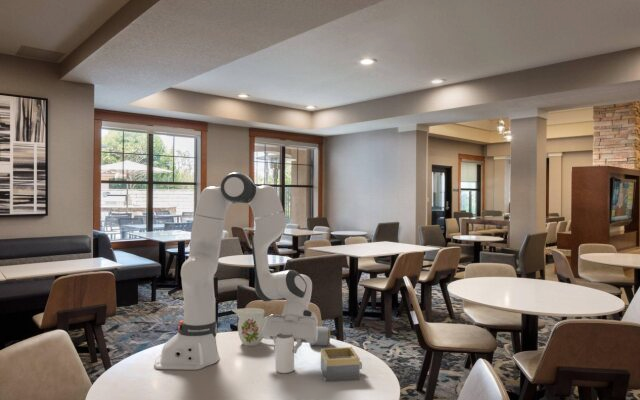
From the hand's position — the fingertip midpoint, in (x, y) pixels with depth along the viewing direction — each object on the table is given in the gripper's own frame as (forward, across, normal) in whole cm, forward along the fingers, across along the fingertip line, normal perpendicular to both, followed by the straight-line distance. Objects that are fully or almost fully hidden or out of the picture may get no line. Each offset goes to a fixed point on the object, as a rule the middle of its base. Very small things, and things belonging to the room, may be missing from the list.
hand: (284, 351), depth 151 cm
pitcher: (-12, -22, +22) cm, 33 cm away
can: (+4, 0, +5) cm, 7 cm away
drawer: (+3, +19, +7) cm, 20 cm away
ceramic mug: (-17, +4, +26) cm, 32 cm away
